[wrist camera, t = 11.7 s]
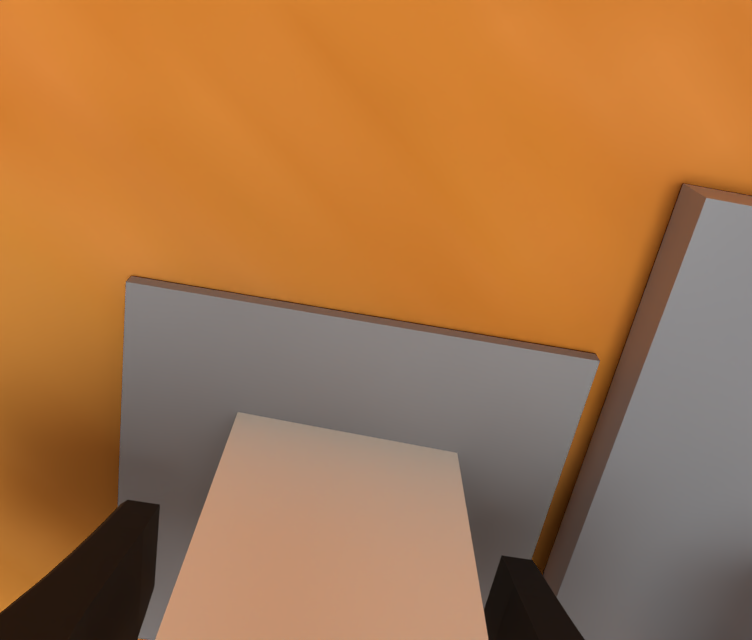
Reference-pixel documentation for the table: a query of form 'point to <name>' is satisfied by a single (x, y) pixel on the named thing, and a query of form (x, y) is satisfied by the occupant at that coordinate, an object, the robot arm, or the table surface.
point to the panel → (672, 449)
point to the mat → (337, 407)
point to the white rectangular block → (328, 542)
